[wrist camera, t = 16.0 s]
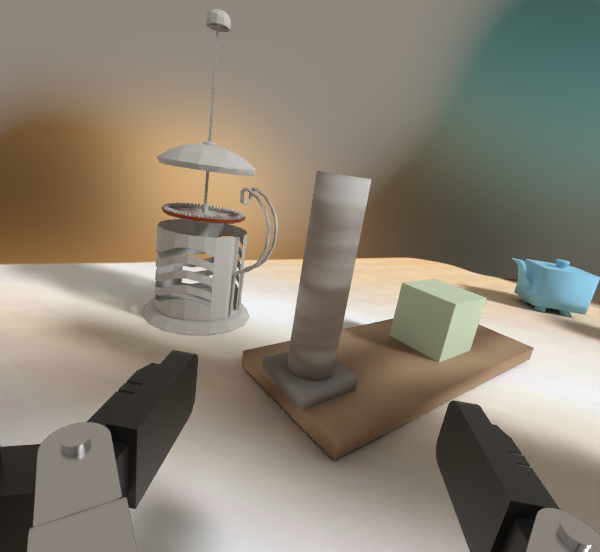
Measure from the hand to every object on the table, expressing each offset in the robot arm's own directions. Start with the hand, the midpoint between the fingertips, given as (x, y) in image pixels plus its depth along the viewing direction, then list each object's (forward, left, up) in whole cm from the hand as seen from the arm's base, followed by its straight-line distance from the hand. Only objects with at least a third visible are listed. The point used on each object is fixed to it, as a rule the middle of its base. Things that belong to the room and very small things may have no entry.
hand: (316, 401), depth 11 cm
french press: (+23, -7, -8) cm, 25 cm away
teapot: (+10, -54, -8) cm, 56 cm away
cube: (+8, -21, -6) cm, 23 cm away
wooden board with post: (+8, -18, -7) cm, 21 cm away
